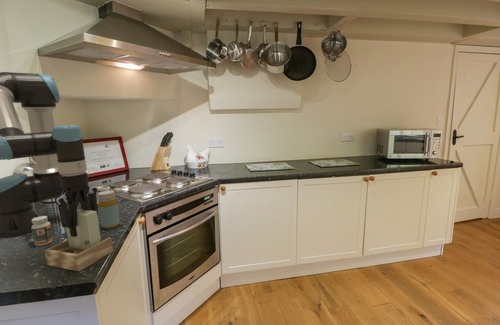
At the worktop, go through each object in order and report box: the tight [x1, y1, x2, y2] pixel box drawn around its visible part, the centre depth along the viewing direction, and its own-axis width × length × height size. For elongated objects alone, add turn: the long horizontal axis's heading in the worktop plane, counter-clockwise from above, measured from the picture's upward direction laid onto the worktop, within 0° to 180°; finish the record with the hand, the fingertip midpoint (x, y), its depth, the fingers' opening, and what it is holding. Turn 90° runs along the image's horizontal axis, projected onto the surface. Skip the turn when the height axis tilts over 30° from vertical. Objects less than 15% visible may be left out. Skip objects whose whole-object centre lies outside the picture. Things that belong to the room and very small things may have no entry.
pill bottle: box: [31, 215, 54, 247], centre depth 103 cm, size 6×6×10 cm
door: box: [65, 208, 102, 250], centre depth 91 cm, size 10×5×12 cm, turn 71°
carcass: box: [43, 236, 114, 272], centre depth 91 cm, size 14×13×5 cm
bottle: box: [97, 189, 121, 230], centre depth 116 cm, size 7×7×15 cm
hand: (84, 241), depth 92 cm, fingers closed on door, 4 cm apart
